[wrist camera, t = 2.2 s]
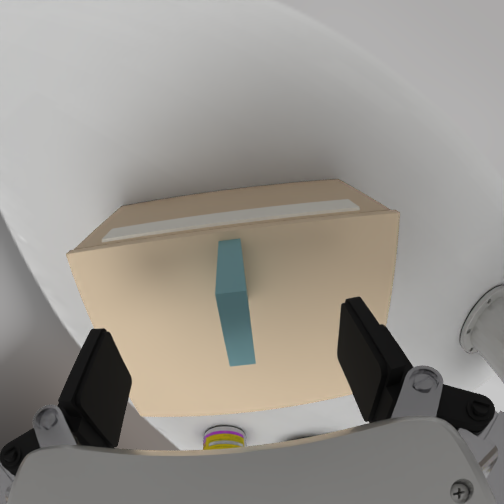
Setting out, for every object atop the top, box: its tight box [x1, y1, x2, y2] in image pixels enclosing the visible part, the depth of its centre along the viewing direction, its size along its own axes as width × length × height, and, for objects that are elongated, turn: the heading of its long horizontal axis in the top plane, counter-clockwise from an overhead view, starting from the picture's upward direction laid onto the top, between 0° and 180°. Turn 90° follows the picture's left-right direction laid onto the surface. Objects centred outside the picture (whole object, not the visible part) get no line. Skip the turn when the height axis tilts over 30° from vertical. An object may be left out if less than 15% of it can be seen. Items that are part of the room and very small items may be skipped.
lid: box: [66, 210, 400, 417], centre depth 17 cm, size 21×16×6 cm
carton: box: [74, 179, 390, 250], centre depth 25 cm, size 20×16×10 cm
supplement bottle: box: [203, 426, 247, 450], centre depth 35 cm, size 7×7×13 cm
